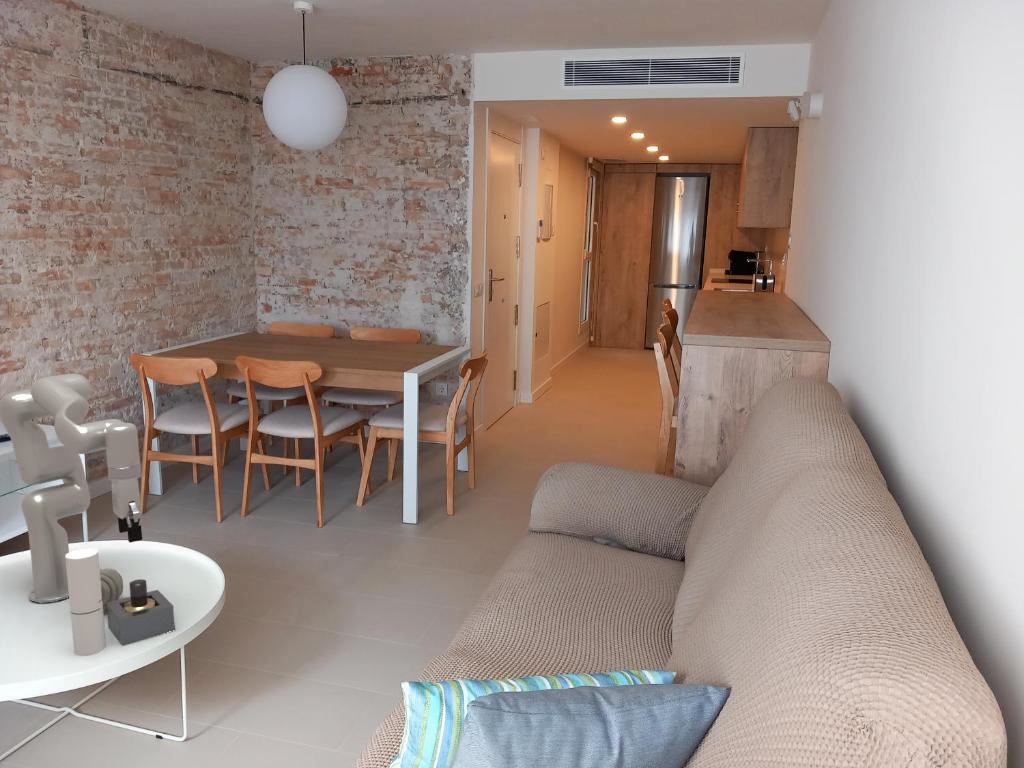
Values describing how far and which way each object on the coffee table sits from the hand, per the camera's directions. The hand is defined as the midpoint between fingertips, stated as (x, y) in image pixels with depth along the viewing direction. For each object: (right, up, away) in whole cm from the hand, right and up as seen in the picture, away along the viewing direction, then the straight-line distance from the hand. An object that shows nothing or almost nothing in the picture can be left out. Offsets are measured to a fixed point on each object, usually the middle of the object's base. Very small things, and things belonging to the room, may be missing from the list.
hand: (130, 536), depth 212 cm
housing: (+1, -25, +4) cm, 26 cm away
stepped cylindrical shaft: (+1, -24, +4) cm, 25 cm away
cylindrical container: (-7, -27, -6) cm, 29 cm away
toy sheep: (-15, -23, +17) cm, 33 cm away
